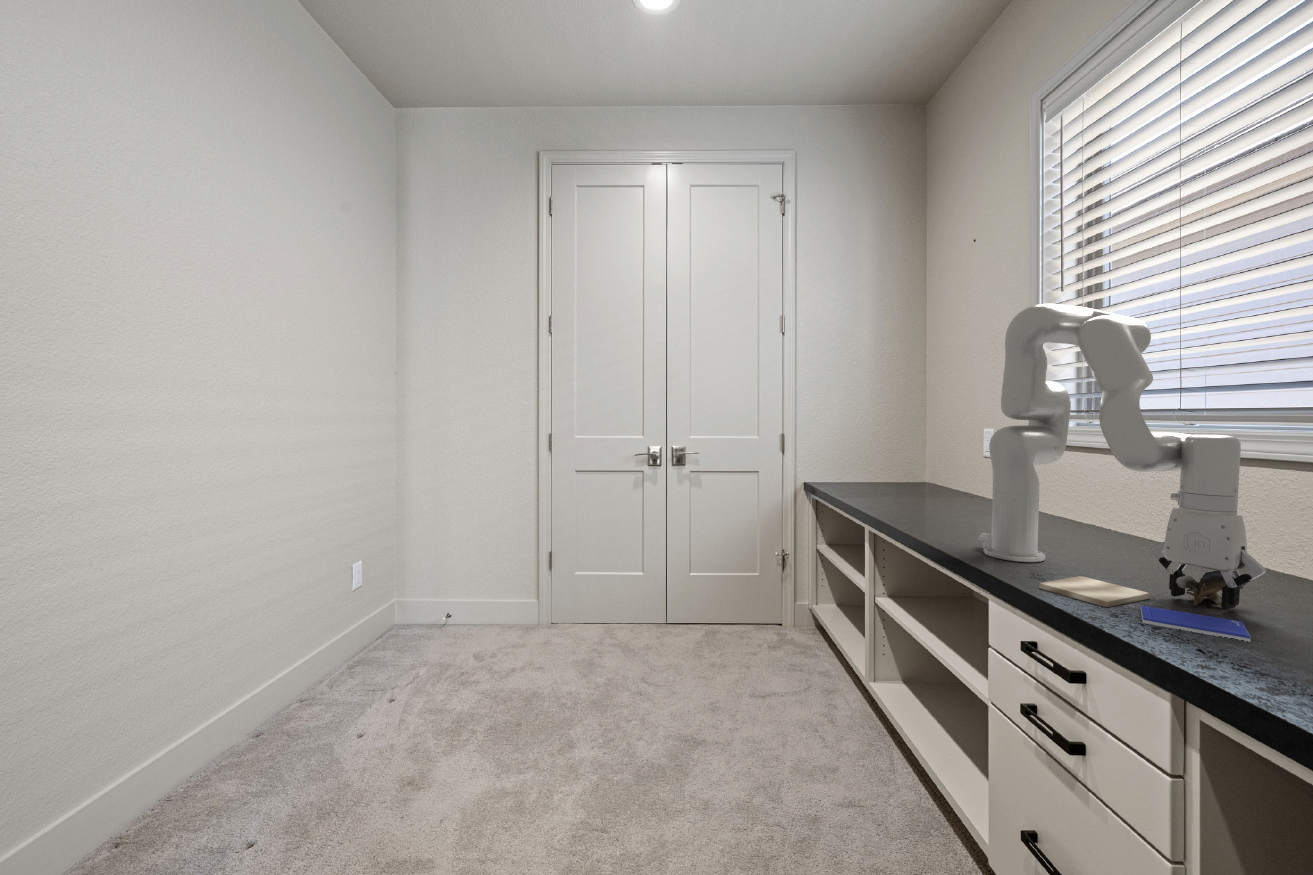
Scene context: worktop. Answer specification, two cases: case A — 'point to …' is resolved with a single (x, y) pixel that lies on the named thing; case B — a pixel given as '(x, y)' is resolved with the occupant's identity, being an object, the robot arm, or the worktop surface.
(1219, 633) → the hard drive
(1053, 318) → the robot arm
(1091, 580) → the ash board
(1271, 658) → the worktop surface
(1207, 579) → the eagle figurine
